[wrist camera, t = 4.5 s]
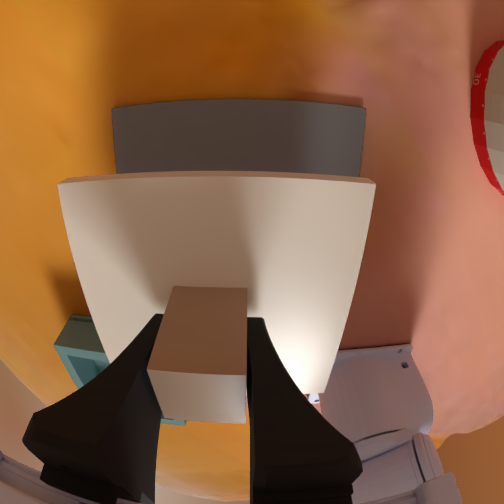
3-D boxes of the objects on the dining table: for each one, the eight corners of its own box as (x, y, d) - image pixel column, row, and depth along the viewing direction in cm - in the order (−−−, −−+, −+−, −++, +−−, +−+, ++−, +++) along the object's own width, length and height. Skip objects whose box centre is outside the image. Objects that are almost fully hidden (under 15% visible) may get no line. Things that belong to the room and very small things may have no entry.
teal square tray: (175, 323, 24) (165, 359, 20) (190, 393, 29) (185, 425, 25) (71, 314, 24) (53, 344, 20) (103, 383, 28) (92, 411, 25)
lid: (368, 178, 11) (439, 240, 6) (321, 382, 17) (336, 458, 12) (67, 178, 11) (-15, 233, 6) (122, 374, 16) (100, 445, 12)
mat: (363, 107, 16) (365, 108, 16) (333, 309, 23) (335, 313, 23) (114, 107, 16) (111, 108, 15) (143, 307, 23) (141, 311, 23)
